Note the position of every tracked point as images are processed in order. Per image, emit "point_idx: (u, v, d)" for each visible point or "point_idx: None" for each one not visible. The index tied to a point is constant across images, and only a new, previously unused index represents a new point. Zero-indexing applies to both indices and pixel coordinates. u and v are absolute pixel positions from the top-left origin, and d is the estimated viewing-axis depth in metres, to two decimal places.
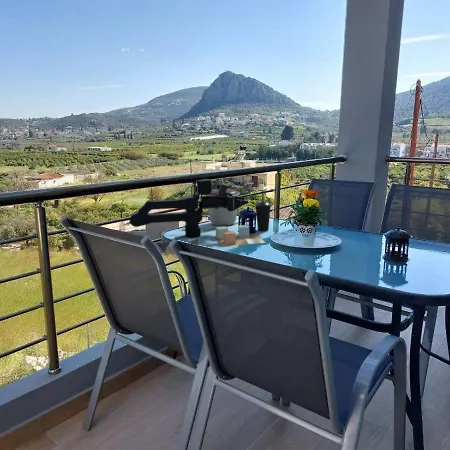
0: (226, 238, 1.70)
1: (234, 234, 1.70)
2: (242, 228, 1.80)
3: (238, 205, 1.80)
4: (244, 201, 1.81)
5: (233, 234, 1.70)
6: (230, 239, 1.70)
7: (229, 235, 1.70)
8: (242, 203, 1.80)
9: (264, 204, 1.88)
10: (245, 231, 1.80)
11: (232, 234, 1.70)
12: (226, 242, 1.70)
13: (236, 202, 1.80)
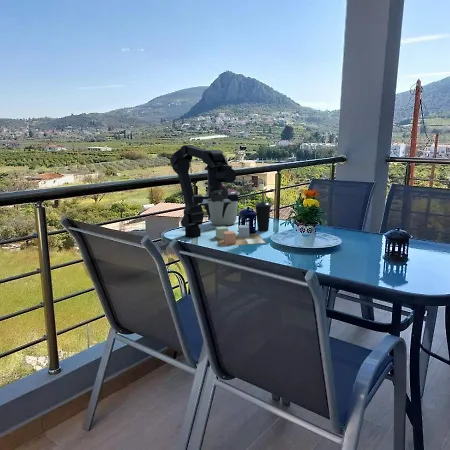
0: (226, 238, 1.70)
1: (234, 234, 1.70)
2: (242, 228, 1.80)
3: None
4: (208, 215, 1.69)
5: (233, 234, 1.70)
6: (230, 239, 1.70)
7: (229, 235, 1.70)
8: None
9: (264, 204, 1.88)
10: (245, 231, 1.80)
11: (232, 234, 1.70)
12: (226, 242, 1.70)
13: None
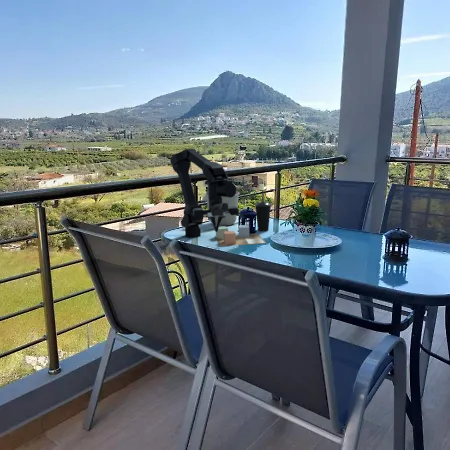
0: (226, 238, 1.70)
1: (234, 234, 1.70)
2: (242, 228, 1.80)
3: None
4: (214, 228, 1.70)
5: (233, 234, 1.70)
6: (230, 239, 1.70)
7: (229, 235, 1.70)
8: None
9: (264, 204, 1.88)
10: (245, 231, 1.80)
11: (232, 234, 1.70)
12: (226, 242, 1.70)
13: None
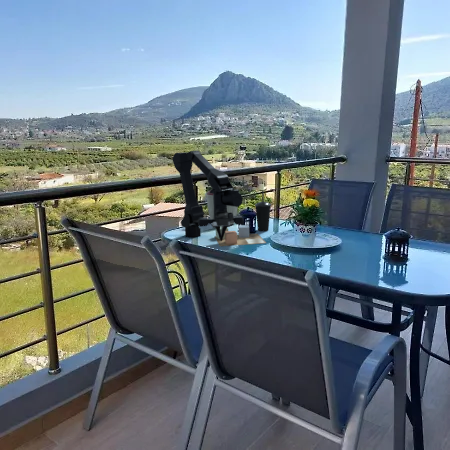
0: (227, 238, 1.70)
1: (235, 234, 1.70)
2: (242, 228, 1.80)
3: None
4: (219, 237, 1.71)
5: (234, 234, 1.70)
6: (231, 239, 1.70)
7: (231, 234, 1.70)
8: None
9: (264, 204, 1.88)
10: (245, 231, 1.80)
11: (234, 234, 1.70)
12: (227, 242, 1.70)
13: None
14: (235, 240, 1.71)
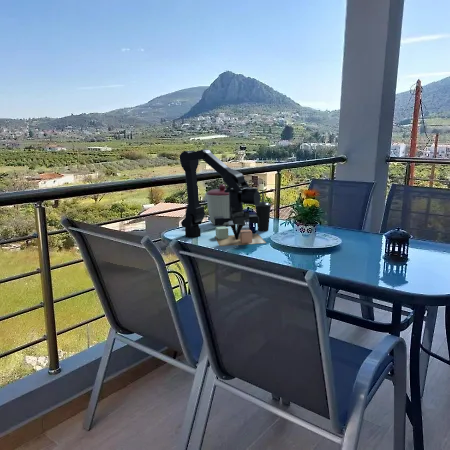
0: (243, 237, 1.71)
1: (251, 233, 1.71)
2: (242, 228, 1.80)
3: (232, 228, 1.73)
4: (234, 235, 1.72)
5: (250, 233, 1.71)
6: (247, 238, 1.71)
7: (246, 233, 1.71)
8: None
9: (264, 204, 1.88)
10: None
11: (249, 233, 1.71)
12: (243, 241, 1.71)
13: None
14: (250, 239, 1.72)
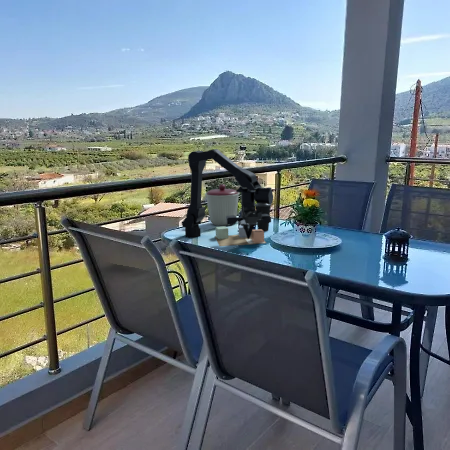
0: (255, 236, 1.72)
1: (263, 232, 1.72)
2: (242, 228, 1.80)
3: (244, 227, 1.74)
4: (246, 235, 1.73)
5: (262, 232, 1.72)
6: (258, 237, 1.72)
7: (258, 233, 1.71)
8: (245, 232, 1.74)
9: (264, 204, 1.88)
10: None
11: (261, 232, 1.72)
12: (255, 240, 1.72)
13: None
14: (262, 238, 1.72)
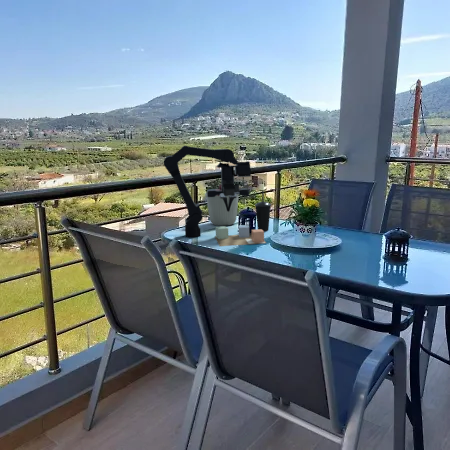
0: (255, 236, 1.72)
1: (262, 232, 1.72)
2: (242, 228, 1.80)
3: (224, 201, 1.85)
4: (226, 207, 1.85)
5: (262, 232, 1.72)
6: (258, 237, 1.72)
7: (258, 233, 1.71)
8: (225, 205, 1.86)
9: (264, 204, 1.88)
10: (245, 231, 1.80)
11: (261, 232, 1.72)
12: (255, 240, 1.72)
13: None
14: (262, 238, 1.72)
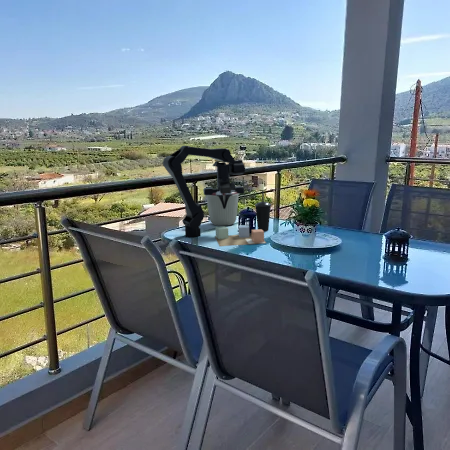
0: (255, 236, 1.72)
1: (262, 232, 1.72)
2: (242, 228, 1.80)
3: (220, 198, 1.91)
4: (222, 205, 1.91)
5: (262, 232, 1.72)
6: (258, 237, 1.72)
7: (258, 233, 1.71)
8: None
9: (264, 204, 1.88)
10: (245, 231, 1.80)
11: (261, 232, 1.72)
12: (255, 240, 1.72)
13: None
14: (262, 238, 1.72)
